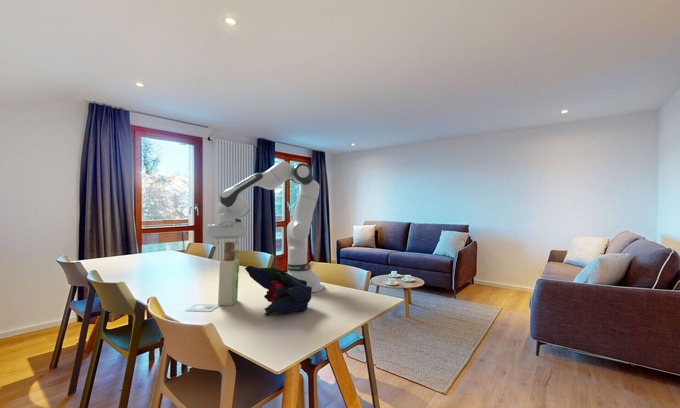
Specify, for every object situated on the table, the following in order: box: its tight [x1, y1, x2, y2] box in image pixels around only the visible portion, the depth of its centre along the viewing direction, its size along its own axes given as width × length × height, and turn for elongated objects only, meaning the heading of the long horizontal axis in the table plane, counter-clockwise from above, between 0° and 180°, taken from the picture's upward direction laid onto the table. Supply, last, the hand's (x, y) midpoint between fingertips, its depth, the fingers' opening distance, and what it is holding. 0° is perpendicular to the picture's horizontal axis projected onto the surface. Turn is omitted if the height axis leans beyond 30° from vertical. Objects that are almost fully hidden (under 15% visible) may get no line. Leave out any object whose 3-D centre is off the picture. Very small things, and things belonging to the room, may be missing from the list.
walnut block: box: [223, 240, 236, 261], centre depth 145 cm, size 4×4×9 cm
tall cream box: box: [217, 258, 240, 306], centre depth 145 cm, size 8×7×21 cm
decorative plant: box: [244, 265, 313, 316], centre depth 134 cm, size 21×26×30 cm
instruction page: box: [185, 303, 221, 313], centre depth 138 cm, size 12×9×1 cm
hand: (227, 244), depth 151 cm, fingers open, 8 cm apart
